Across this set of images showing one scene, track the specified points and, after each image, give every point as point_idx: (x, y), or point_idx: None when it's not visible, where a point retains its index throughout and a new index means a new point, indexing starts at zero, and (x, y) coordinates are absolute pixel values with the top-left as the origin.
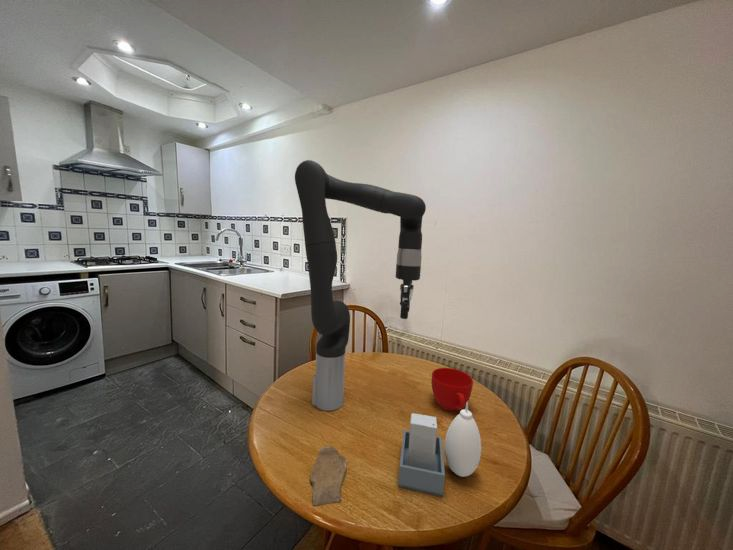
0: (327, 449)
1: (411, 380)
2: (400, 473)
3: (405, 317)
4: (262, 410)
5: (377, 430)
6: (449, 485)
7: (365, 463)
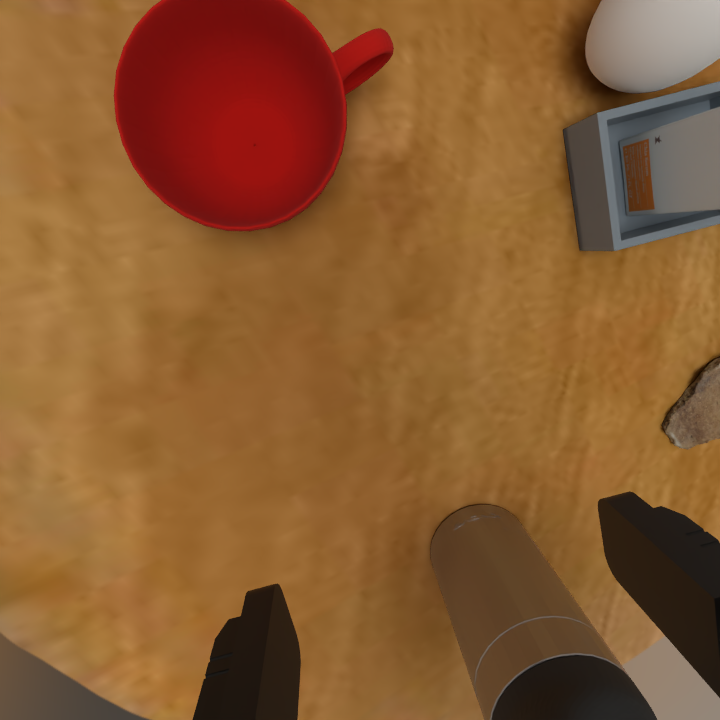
0: (680, 433)
1: (149, 352)
2: None
3: (662, 514)
4: None
5: (538, 348)
6: None
7: (676, 322)
